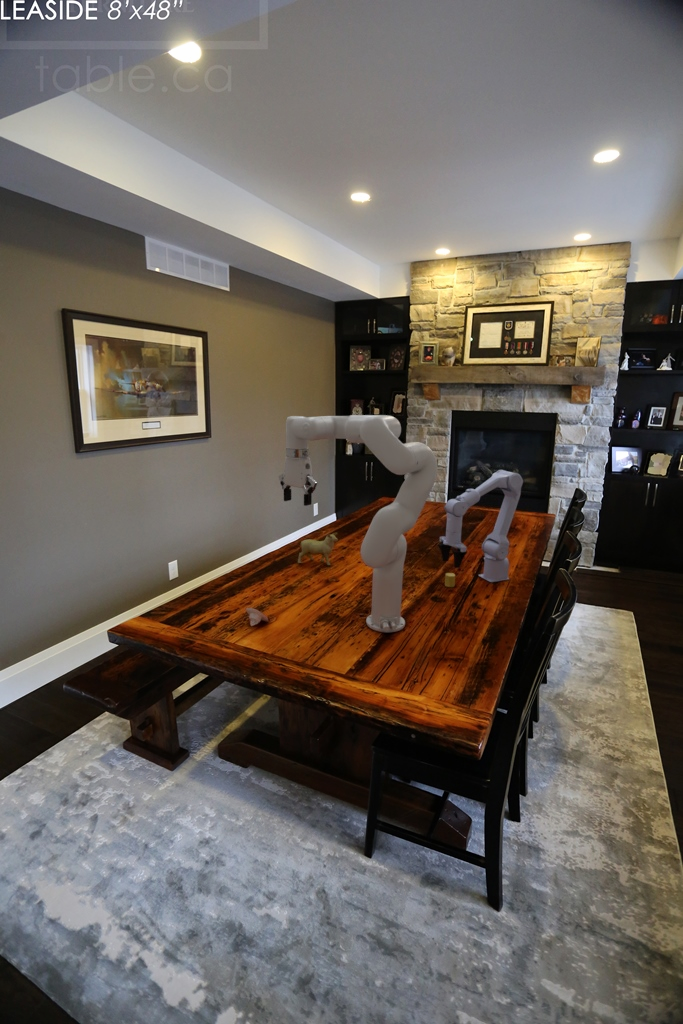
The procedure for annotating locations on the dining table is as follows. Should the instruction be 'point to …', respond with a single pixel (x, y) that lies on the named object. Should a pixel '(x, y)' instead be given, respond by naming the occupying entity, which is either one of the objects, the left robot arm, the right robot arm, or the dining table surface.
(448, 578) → the tin
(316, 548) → the toy
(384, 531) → the left robot arm
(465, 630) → the dining table surface
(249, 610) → the seashell
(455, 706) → the dining table surface
